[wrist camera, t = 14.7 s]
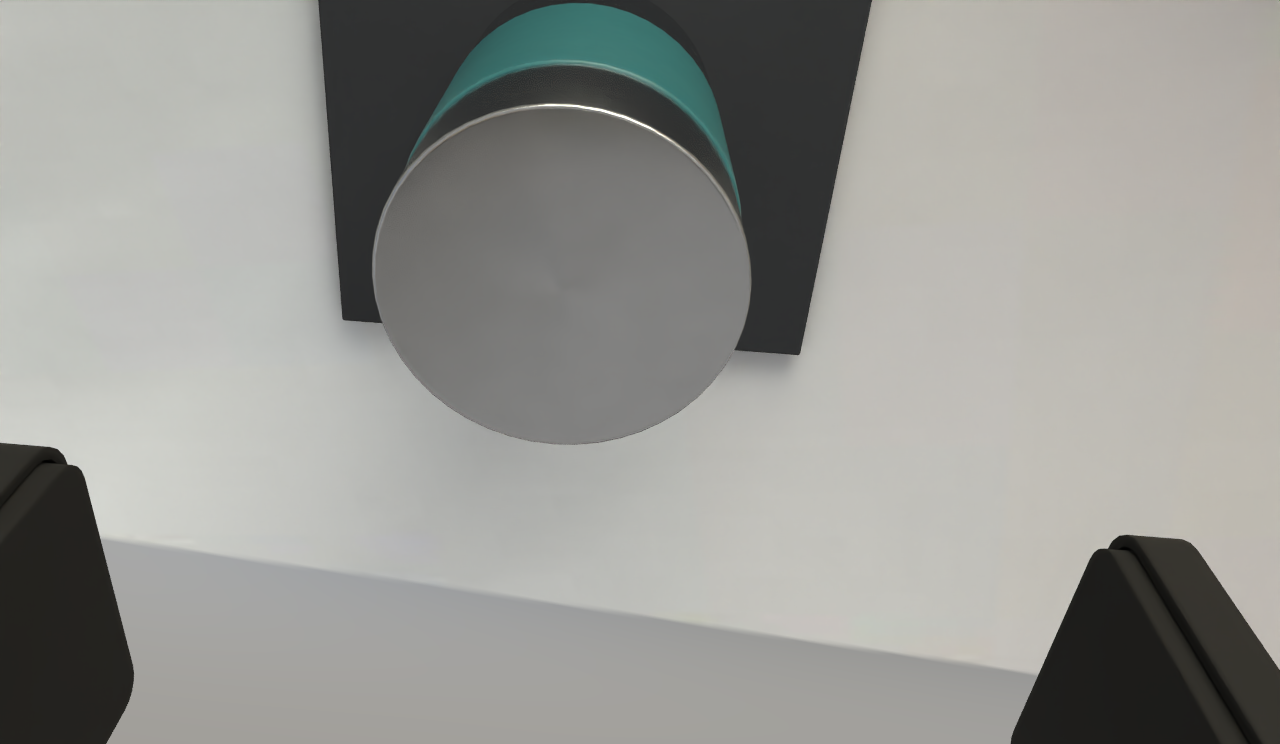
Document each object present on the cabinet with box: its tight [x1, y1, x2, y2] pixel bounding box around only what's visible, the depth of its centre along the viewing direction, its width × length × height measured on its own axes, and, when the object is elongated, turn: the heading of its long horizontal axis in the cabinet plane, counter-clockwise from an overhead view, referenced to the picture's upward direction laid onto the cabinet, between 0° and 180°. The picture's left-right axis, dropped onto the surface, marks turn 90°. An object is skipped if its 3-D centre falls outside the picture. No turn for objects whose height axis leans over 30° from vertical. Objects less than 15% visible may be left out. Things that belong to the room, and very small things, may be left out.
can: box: [372, 0, 751, 444], centre depth 19 cm, size 6×6×9 cm
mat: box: [318, 0, 872, 355], centre depth 23 cm, size 12×12×1 cm
